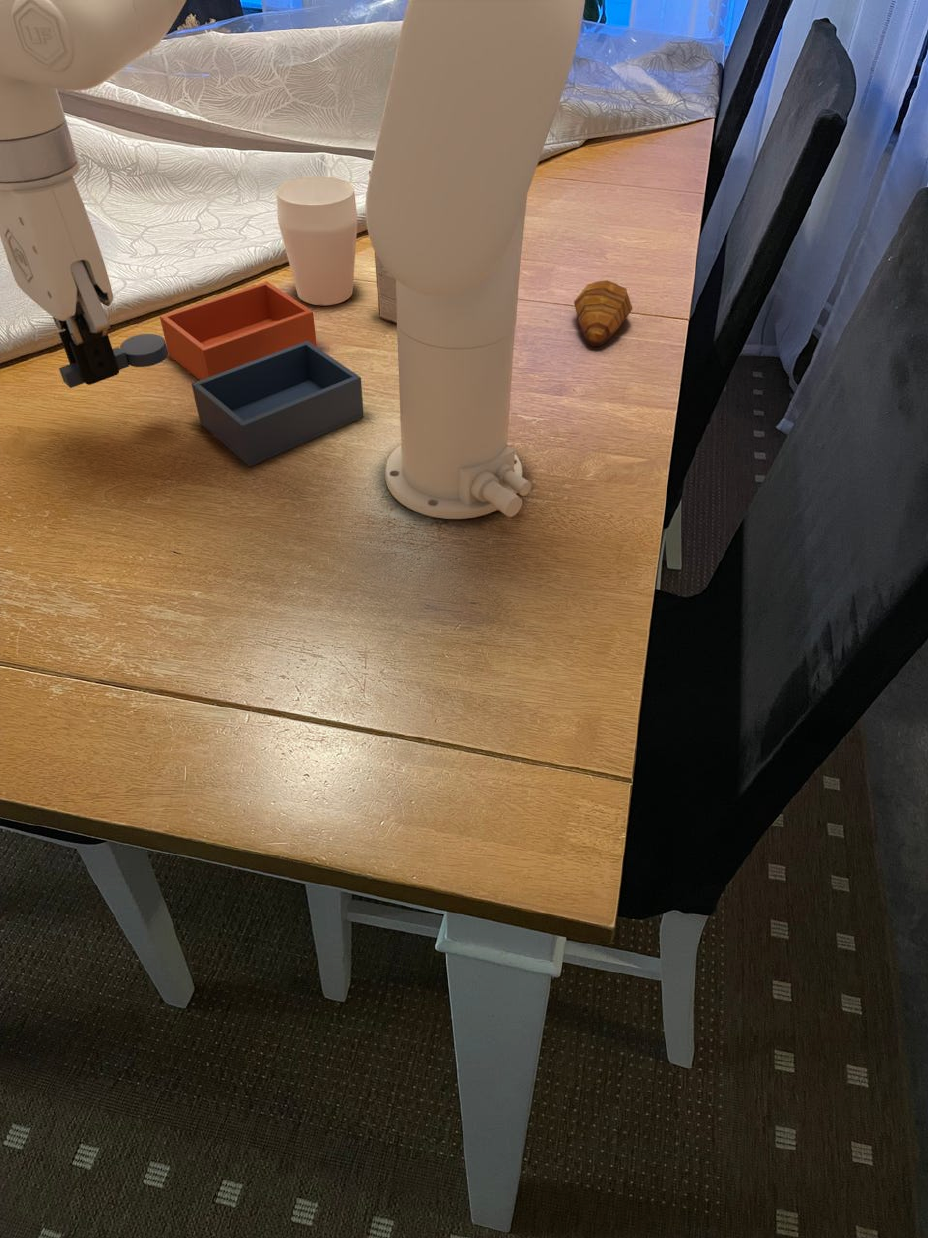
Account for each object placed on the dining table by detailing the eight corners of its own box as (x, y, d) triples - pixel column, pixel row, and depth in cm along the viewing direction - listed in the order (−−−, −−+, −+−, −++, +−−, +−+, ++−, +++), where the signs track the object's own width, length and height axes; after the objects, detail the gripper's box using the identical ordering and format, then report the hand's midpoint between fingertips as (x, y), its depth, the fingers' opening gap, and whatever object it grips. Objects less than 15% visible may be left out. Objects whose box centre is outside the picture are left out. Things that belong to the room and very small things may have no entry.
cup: (331, 318, 102) (321, 212, 93) (272, 297, 105) (257, 193, 97) (377, 289, 107) (371, 186, 99) (319, 270, 111) (309, 169, 102)
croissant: (625, 354, 98) (632, 312, 94) (564, 347, 99) (569, 305, 95) (633, 300, 107) (640, 259, 103) (578, 293, 108) (583, 253, 104)
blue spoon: (76, 394, 76) (71, 379, 75) (57, 376, 78) (52, 362, 77) (176, 356, 81) (172, 342, 80) (155, 341, 83) (151, 327, 82)
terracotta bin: (317, 349, 97) (313, 311, 94) (211, 390, 91) (203, 350, 88) (272, 318, 102) (266, 281, 98) (168, 355, 96) (159, 316, 92)
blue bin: (363, 417, 88) (361, 377, 85) (249, 467, 82) (242, 425, 78) (311, 379, 93) (307, 340, 89) (200, 424, 86) (191, 383, 83)
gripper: (-66, 137, 68) (21, 355, 81) (11, 193, 59) (95, 426, 73) (29, 117, 71) (98, 329, 84) (115, 167, 63) (176, 393, 76)
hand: (96, 372), depth 78 cm, fingers closed on blue spoon, 1 cm apart
